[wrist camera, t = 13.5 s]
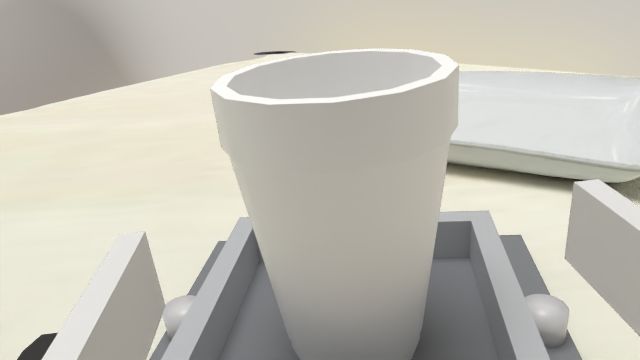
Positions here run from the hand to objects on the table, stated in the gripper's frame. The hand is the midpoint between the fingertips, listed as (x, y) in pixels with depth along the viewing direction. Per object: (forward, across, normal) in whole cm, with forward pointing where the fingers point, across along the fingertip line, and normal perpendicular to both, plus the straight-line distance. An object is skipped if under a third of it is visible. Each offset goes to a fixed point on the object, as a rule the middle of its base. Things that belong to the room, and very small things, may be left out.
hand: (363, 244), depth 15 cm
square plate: (+36, +20, -11) cm, 43 cm away
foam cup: (+6, 0, -9) cm, 11 cm away
